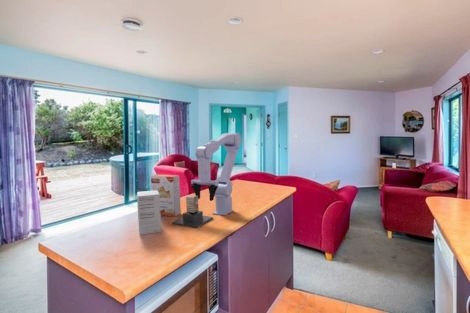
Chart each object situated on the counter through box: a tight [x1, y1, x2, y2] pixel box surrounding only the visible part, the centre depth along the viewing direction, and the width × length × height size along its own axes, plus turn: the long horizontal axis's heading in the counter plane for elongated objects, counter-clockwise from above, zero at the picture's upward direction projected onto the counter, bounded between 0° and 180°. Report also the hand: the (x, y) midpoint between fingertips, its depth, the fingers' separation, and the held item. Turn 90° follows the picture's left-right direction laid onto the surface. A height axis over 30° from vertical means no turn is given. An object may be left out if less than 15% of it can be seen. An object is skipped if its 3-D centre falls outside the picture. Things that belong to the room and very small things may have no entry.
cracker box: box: [150, 174, 182, 217], centre depth 139 cm, size 14×6×21 cm, turn 69°
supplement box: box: [136, 190, 162, 236], centre depth 117 cm, size 10×9×17 cm
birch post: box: [185, 194, 199, 213], centre depth 127 cm, size 4×4×7 cm
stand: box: [171, 210, 214, 229], centre depth 127 cm, size 14×14×5 cm
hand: (204, 199), depth 128 cm, fingers open, 7 cm apart
